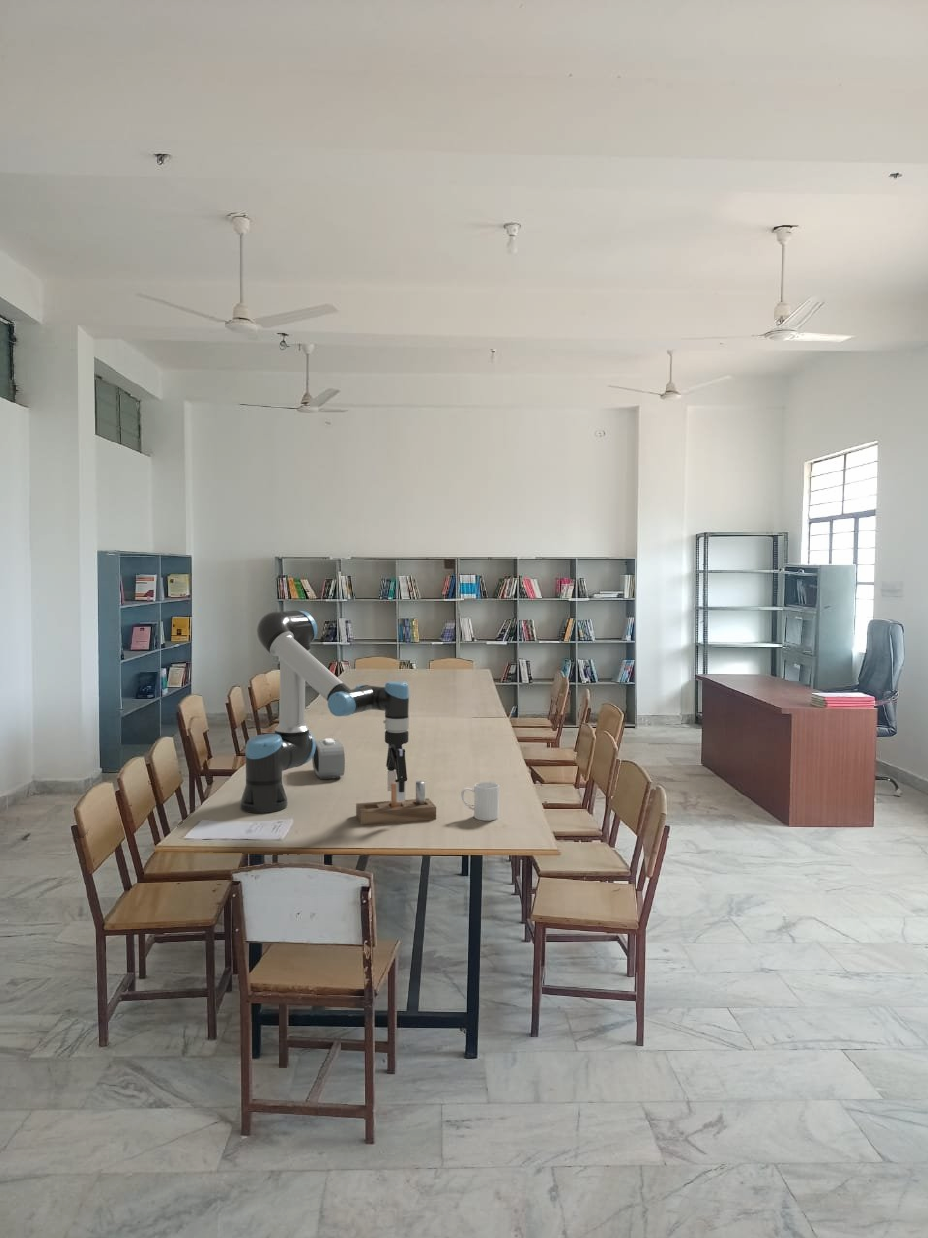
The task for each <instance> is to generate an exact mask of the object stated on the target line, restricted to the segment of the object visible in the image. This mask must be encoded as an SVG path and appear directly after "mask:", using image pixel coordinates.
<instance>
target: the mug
mask: <svg viewBox="0 0 928 1238" xmlns="http://www.w3.org/2000/svg"><path fill="white" fill-rule="evenodd" d="M473 787H474V788H470V787H465V788H463V789H462V791H461V795H460V796H461V800H462V802H463V804H464V805H465V806H466V807H467V808H468V809H470V810H472V811H473V816H474V818H475V820H479V821H484V822H488V821H489V822H490V821H495V820H498V818H499V817H500V815H499V814H500V813H499V810H500V809H499V808H500V807H499V806H500V805H499V804H500V802H499V801H500V785H499V784H498V783H496V782H487V781H485V782H483V781H482V782H476V783H475V784H474V786H473ZM466 791H471V792H473V793H474V797H473V807H472V806H471V805H470V804H468V803H467V802H466V800H465V797H464V794H465V792H466Z"/></svg>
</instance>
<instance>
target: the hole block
mask: <svg viewBox="0 0 928 1238" xmlns="http://www.w3.org/2000/svg"><path fill="white" fill-rule="evenodd" d="M355 804H356V805H355V807H356V808H355V816H356V818H357V819H358V821H359V823H360V825H361V826H364V825H365V826H366V825H377V824H390V823H401V822H402V823H403V822H416V821H417V822H418V821H427V820H428V821H429V820H437V806H436V804H434V802H433V801H432V800H431V799H430V798H426V797H425V805H417V806H416V798H415V799H405V802H401V807H391V800H385V801H384V800H383V801H371V802H356V803H355Z"/></svg>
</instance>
